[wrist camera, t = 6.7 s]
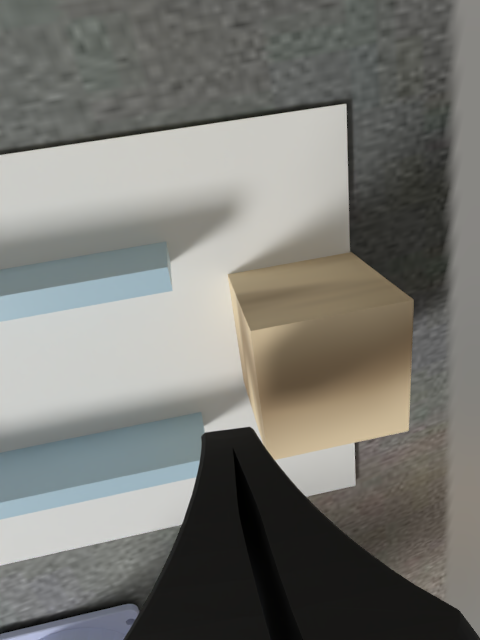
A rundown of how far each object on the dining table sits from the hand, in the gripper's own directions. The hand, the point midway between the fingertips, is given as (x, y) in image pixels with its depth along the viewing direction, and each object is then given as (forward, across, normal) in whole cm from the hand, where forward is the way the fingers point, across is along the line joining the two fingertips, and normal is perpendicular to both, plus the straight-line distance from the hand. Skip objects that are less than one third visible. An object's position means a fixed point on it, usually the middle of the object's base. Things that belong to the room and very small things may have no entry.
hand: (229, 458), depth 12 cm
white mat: (+7, +5, +2) cm, 9 cm away
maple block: (+7, -4, 0) cm, 8 cm away
